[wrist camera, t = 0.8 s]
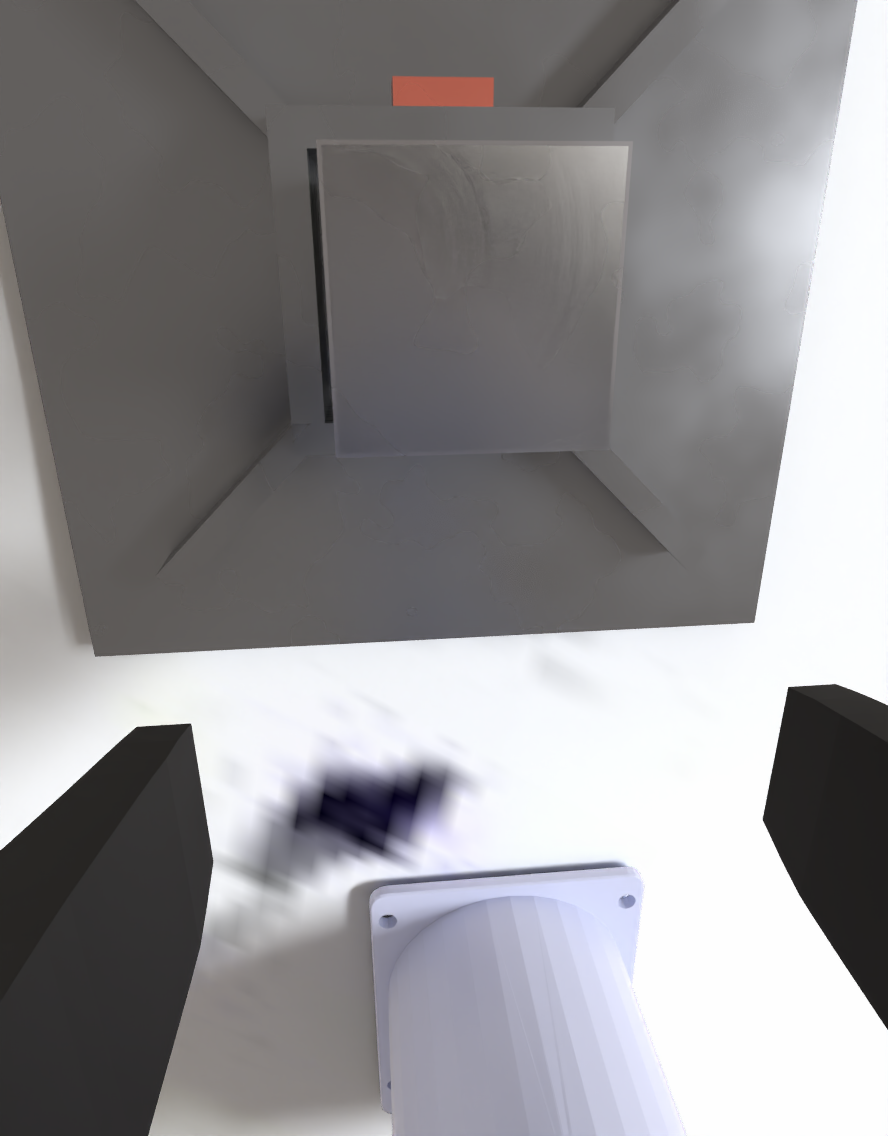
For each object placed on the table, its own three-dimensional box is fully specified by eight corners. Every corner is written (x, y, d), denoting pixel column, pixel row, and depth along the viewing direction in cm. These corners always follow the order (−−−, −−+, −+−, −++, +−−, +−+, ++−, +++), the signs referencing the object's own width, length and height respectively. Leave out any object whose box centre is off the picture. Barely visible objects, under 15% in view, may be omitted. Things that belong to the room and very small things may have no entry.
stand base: (743, 612, 20) (805, 670, 17) (103, 644, 18) (57, 713, 16) (871, -196, 14) (1001, -312, 11) (-74, -241, 12) (-202, -385, 9)
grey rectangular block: (522, 380, 16) (612, 453, 10) (343, 384, 16) (332, 462, 10) (528, 182, 15) (637, 135, 9) (332, 181, 15) (311, 134, 9)
